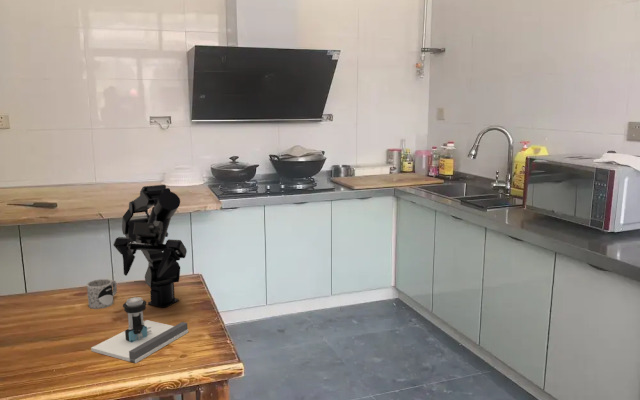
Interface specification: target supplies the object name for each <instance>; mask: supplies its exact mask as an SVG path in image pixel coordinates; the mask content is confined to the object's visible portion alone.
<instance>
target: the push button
mask: <svg viewBox="0 0 640 400" xmlns="http://www.w3.org/2000/svg"><path fill="white" fill-rule="evenodd" d="M146 305H147V301H146V300H144V299H143V298H142V297H139V296H136V297H135V296H134V297H130V298H128V299H127V300H126V302H124V303H123V304H122V307H123V310H124V312H125V313H126V314H127V320H128V321H127V322H128V327H127V329H125V330H124V331H125V336H126V340H127V341H129V342H134V341H136V340H140V339H142V338H144V337H146V336H147V333H149V331H150V332H151V330H149V331H147V330H148V329H150V328H152V327H148V328H147V327H146V326H144V311H145V310H146V309H147V307H146Z"/></svg>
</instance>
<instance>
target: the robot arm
mask: <svg viewBox="0 0 640 400" xmlns="http://www.w3.org/2000/svg"><path fill="white" fill-rule="evenodd" d="M180 205H181V199H180V197H179V195H178V194H176V193H175V192H173V191H171V189H170V188H168V187H167V186H166V184H158V185H157V184H155V185H147V186H146V185H145V186H142V188H140V191H139V196H138V197H136V198H135V199H133V200H131V201H129V202H128V209H127V210H126V211H125V213H124V214H123V215H122V219H121V220H122V223H121V231H122V235H125V236H124V237H123V236H118V237H116V238H115V239H114V242H113V247H114V248H115V249H116V250H117V251H118V252H119V254H120V255H122V262H123V263H122V265H123V275H124V276H128V274H129V273H130V270H131V268H132V265H133V263H134V260H135V258H136V256H135V254H136V253H137V251H141V253H142V254H143V255H144V257H145V259H146V260H147V262H148V264H147V265H148V266H147V268H146V272H145V274H144V280H145V281H144V282H145V284H146V285H147V286H148V287H149V288H150V294H149V295H150V301H148V302H147V305H149V306H155V307H158V308H162V309H165V308H167V307H169V306H171V305H172V304H175V303H177V302H179V298H177V297H175V296H176V295H175V283H179V282H180V277H181V266H180V264H179V262H178V261H180V260H181V259H185V258H186V256H187V253H188V252H187V251H188V250H187V248H186V246H185V245H184V243H183V241H182V240H181V239H167V240H165V239H166V237H167V238H168V236H169V233H168V229H169V226H170V224H171V223H170V222H171V219H172V217H173V216H175V213H176V212H177V210H178V209H179V207H180ZM151 208H152V209H151ZM149 209H151V211H150V214H149V211H148V210H149ZM139 213H145V214H146V215H145V216H146V217H142V218H133V217H134V215H135V214H139ZM132 218H133V219H132ZM164 242H165V243H164Z"/></svg>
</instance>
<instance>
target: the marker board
mask: <svg viewBox="0 0 640 400" xmlns="http://www.w3.org/2000/svg"><path fill="white" fill-rule="evenodd" d="M143 322H144V326H146V327H147V328H148V327H152V328H150V329H148V330H147V331H149V330H151V332H150V331H149V333H147V336H146V337H144V338H142V339H140V340H136V341H134V342H129V341H127V340H126V336H125V330H124V331H122V332H120V333H118V334H116V335H114V336H112V337H110V338H108V339H106V340H103V341H102V342H100V343H98V344H95V345H93V346H92V347H90V349H91V352H93V353H98V354H100V355H105V356H108V357H112V358H115V359H119V360H123V361H126V362H130V363H134V364H137V363H138V362H141V361H142V360H144V359H145V358H147V357H149V356H151V355H152V354H154V353H156V352H157V351H159V350H161V349H162V348H165V346H167V345H169V344H171V343H173V342H174V341H176V340H177V339H180V338H181V337H183V336H184V335H186V334H188V333H189V329H188V327H189V326H188V322H185V321H181V322H179V323H178V324H176V325H171V324H166V323H162V322H157V321H153V320H148V319H146V320H143Z"/></svg>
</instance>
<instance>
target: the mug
mask: <svg viewBox="0 0 640 400" xmlns="http://www.w3.org/2000/svg"><path fill="white" fill-rule="evenodd" d="M86 287H87V288H86V289H87V300H88V303H87V304H88V307H89V308H90V309H94V310H100V309H105V308H106V309H107V308H109V307H111V306H112V305H113V304H114V296H115V295H116V294H117V291H118V288H117V281H116V280H115V279H108V278H106V279H105V278H102V279H101V278H100V279H95V280H91V281H89V282H88V283H87V284H86Z"/></svg>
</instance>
